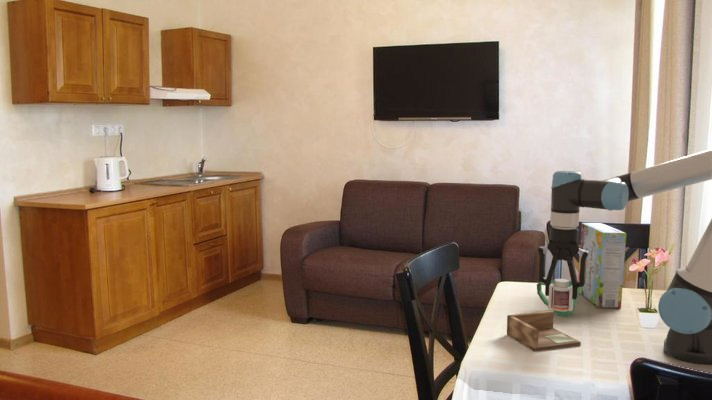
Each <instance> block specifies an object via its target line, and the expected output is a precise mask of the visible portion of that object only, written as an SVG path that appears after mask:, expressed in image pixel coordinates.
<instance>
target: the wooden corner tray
mask: <svg viewBox="0 0 712 400" xmlns="http://www.w3.org/2000/svg"><path fill="white" fill-rule="evenodd" d="M554 315H555V311H554V310H553V309H550V310H543V311H535V312H534V311H533V312H524V313H515V314H507V316H506V317H507V318H506V336H507V335H508V337H509V336H510V337H509V338H511V339H512V338H513V339H512V340H514V339H515V340H514V341H516V342H517V341H518V342H517V343H519V344H520V345H523V346H524V347H525V348H527V349H529V350H531V351H533V352H535V353H536V352H541V351H550V350H557V349H563V348H565V349H566V348H572V347H580V346H581V341H580V340H578V339H576V338H574V337H572V336H570V335H568V334H567V333H564V332H562V331H560V330H559V329H556V328H554V318H555V317H554Z"/></svg>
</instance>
